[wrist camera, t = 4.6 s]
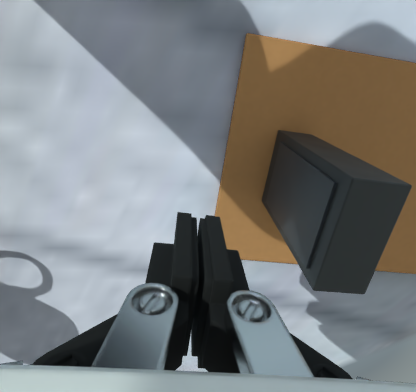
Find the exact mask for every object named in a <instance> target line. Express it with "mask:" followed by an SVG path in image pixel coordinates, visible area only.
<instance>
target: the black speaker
mask: <svg viewBox="0 0 416 392" xmlns="http://www.w3.org/2000/svg"><path fill="white" fill-rule="evenodd" d="M411 188H412V185H410V184H408V183H406V182H404V181H403V180H401V179H399V178H397V177H395V176H393V175H391V174H389V173H387V172H385V171H383V170H381V169H379V168H377V167H375V166H373V165H371V164H369V163H367V162H365V161H363V160H361V159H359V158H357V157H355V156H353V155H351V154H349V153H347V152H345V151H343V150H341V149H339V148H337V147H335V146H333V145H331V144H330V143H328V142H326V141H324V140H322V139H320V138H318V137H316V136H314V135H312V134H304V133H297V132H290V131H283V130H278V133H277V137H276V141H275V145H274V150H273V154H272V158H271V162H270V167H269V171H268V175H267V179H266V184H265V188H264V192H263V196H262V203H263V204H264V206H265V208H266V209H267V211H268V213H269V215H270V216H271V218H272V220H273V222H274V223H275V225H276V227H277V228H278V230H279V232H280V234H281V235H282V237H283V239H284V241H285V242H286V244H287V246H288V247H289V249H290V251H291V253H292V254H293V256H294V258H295V260H296V261H297V263H298V265H299V266H300V268H301V270H302V272H303V273H304V275H305V277H306V279H307V280H308V282H309V284H310V286H311V287H312V289H313V290H314V291H327V292H341V293H354V294H365V292H366V290H367V287H368V285H369V283H370V281H371V278H372V276H373V274H374V271H375V269H376V267H377V265H378V262H379V260H380V258H381V256H382V253H383V251H384V249H385V247H386V244H387V242H388V240H389V238H390V235H391V233H392V231H393V229H394V226H395V224H396V222H397V220H398V217H399V215H400V213H401V211H402V208H403V206H404V204H405V202H406V199H407V197H408V195H409V192H410V190H411Z"/></svg>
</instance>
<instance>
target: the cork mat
mask: <svg viewBox="0 0 416 392" xmlns="http://www.w3.org/2000/svg"><path fill="white" fill-rule="evenodd" d="M278 130H283V131H290V132H297V133H304V134H312V135H314V136H316V137H318V138H320V139H322V140H324V141H326V142H328V143H330V144H331V145H333V146H335V147H337V148H339V149H341V150H343V151H345V152H347V153H349V154H351V155H353V156H355V157H357V158H359V159H361V160H363V161H365V162H367V163H369V164H371V165H373V166H375V167H377V168H379V169H381V170H383V171H385V172H387V173H389V174H391V175H393V176H395V177H397V178H399V179H401V180H403V181H404V182H406V183H408V184H410V185H412V188H411V190H410V192H409V195H408V197H407V199H406V202H405V204H404V206H403V208H402V211H401V213H400V215H399V217H398V220H397V222H396V224H395V226H394V229H393V231H392V233H391V235H390V238H389V240H388V242H387V244H386V247H385V249H384V251H383V253H382V256H381V258H380V260H379V262H378V265H377V267H376V269H375V271H387V272H399V273H411V274H416V63H412V62H407V61H401V60H396V59H390V58H384V57H379V56H373V55H367V54H362V53H356V52H351V51H345V50H339V49H334V48H328V47H323V46H317V45H311V44H306V43H300V42H295V41H289V40H283V39H278V38H272V37H266V36H261V35H255V34H250V33H247V34H246V38H245V44H244V49H243V55H242V61H241V67H240V72H239V78H238V84H237V90H236V96H235V101H234V107H233V113H232V119H231V125H230V130H229V136H228V142H227V148H226V153H225V159H224V165H223V171H222V177H221V182H220V188H219V194H218V200H217V206H216V211H215V216H218V217H220V219H221V224H222V229H223V233H224V238H225V243H226V247H227V249H229V250H237V251H238V252H239V255H240V259H243V260H255V261H267V262H279V263H291V264H298V263H297V261H296V260H295V258H294V256H293V254H292V253H291V251H290V249H289V247H288V246H287V244H286V242H285V241H284V239H283V237H282V235H281V234H280V232H279V230H278V228H277V227H276V225H275V223H274V222H273V220H272V218H271V216H270V215H269V213H268V211H267V209H266V208H265V206H264V204H263V203H262V196H263V192H264V188H265V184H266V179H267V175H268V171H269V167H270V162H271V158H272V154H273V150H274V145H275V141H276V137H277V133H278Z"/></svg>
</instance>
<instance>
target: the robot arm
mask: <svg viewBox="0 0 416 392" xmlns="http://www.w3.org/2000/svg"><path fill="white" fill-rule="evenodd" d="M190 334H191V342H192V356H198V368H205V369H206V370H207V371H208V372H195V371H175V370H176V369H177V368H178V367H179V366H181V364H182V357H183V356H187V352H188V346H189V340H190ZM0 392H416V384H413V383H402V382H387V381H373V380H369V379H365V378H361V377H357V378H356V380H355V379H352V378H351V376H350V375H349V374H348V373H346V372H345V371H344V370H343V369H342V368H340V367H339V366H337V365H336V364H334V363H333V362H331V361H330V360H329V359H327V358H326V357H324V356H323V355H321V354H320V353H318V352H317V351H315V350H314V349H313V348H311V347H310V346H308V345H307V344H305V343H304V342H302V341H301V340H299V339H298V338H296V337H295V336H294V335H292V334H291V333H289V331H288V329H287V327H286V326H285V324H284V322H283V320H282V319H281V317H280V315H279V313H278V311H277V310H276V308H275V306H274V305H273V303H272V302H271V301H270V300H269V299H268V298H266V297H265V296H264V295H262V294H260V293H257V292H254V291H250V290H249V287H248V284H247V280H246V277H245V273H244V269H243V266H242V262H241V259H240V255H239V252H238V251H237V250H229V249H227V247H226V243H225V238H224V233H223V229H222V224H221V219H220V217H218V216H208V215H206V217H205V219H203V218H200V223H199V229H198V236H197V220H196V218H193V217H191V214H189V213H180V212H178V214H177V223H176V231H175V240H174V244H165V243H154V245H153V250H152V255H151V259H150V264H149V269H148V274H147V278H146V283H145V284H142V285H139V286H137V287H135V288H134V289H132V290H131V291H130V293H129V294H128V295H127V297H126V299H125V301H124V303H123V305H122V307H121V309H120V311H119V313H118V314H117V315H115V316H113V317H111V318H109V319H108V320H106V321H104V322H102V323H100V324H98V325H97V326H95V327H93V328H91V329H89V330H88V331H86V332H84V333H82V334H80V335H78V336H77V337H75V338H73V339H71V340H69V341H68V342H66V343H64V344H62V345H60V346H58V347H57V348H55V349H53V350H51V351H49V352H47V353H46V354H44V355H43V356H41V357H40V358H39V359H37V360H36V361H35V362H34V363H33V364H30V365H23V361H17V362H10V363H3V364H0Z"/></svg>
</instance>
